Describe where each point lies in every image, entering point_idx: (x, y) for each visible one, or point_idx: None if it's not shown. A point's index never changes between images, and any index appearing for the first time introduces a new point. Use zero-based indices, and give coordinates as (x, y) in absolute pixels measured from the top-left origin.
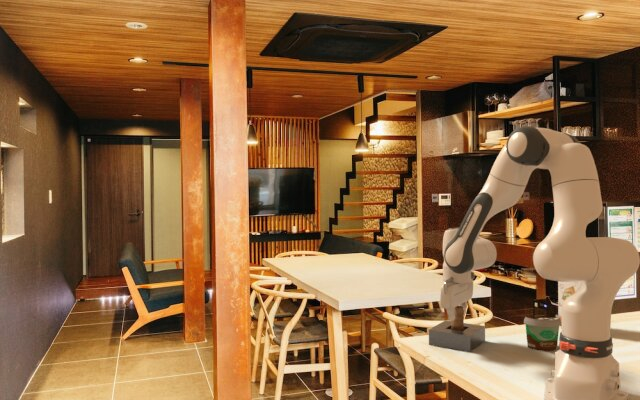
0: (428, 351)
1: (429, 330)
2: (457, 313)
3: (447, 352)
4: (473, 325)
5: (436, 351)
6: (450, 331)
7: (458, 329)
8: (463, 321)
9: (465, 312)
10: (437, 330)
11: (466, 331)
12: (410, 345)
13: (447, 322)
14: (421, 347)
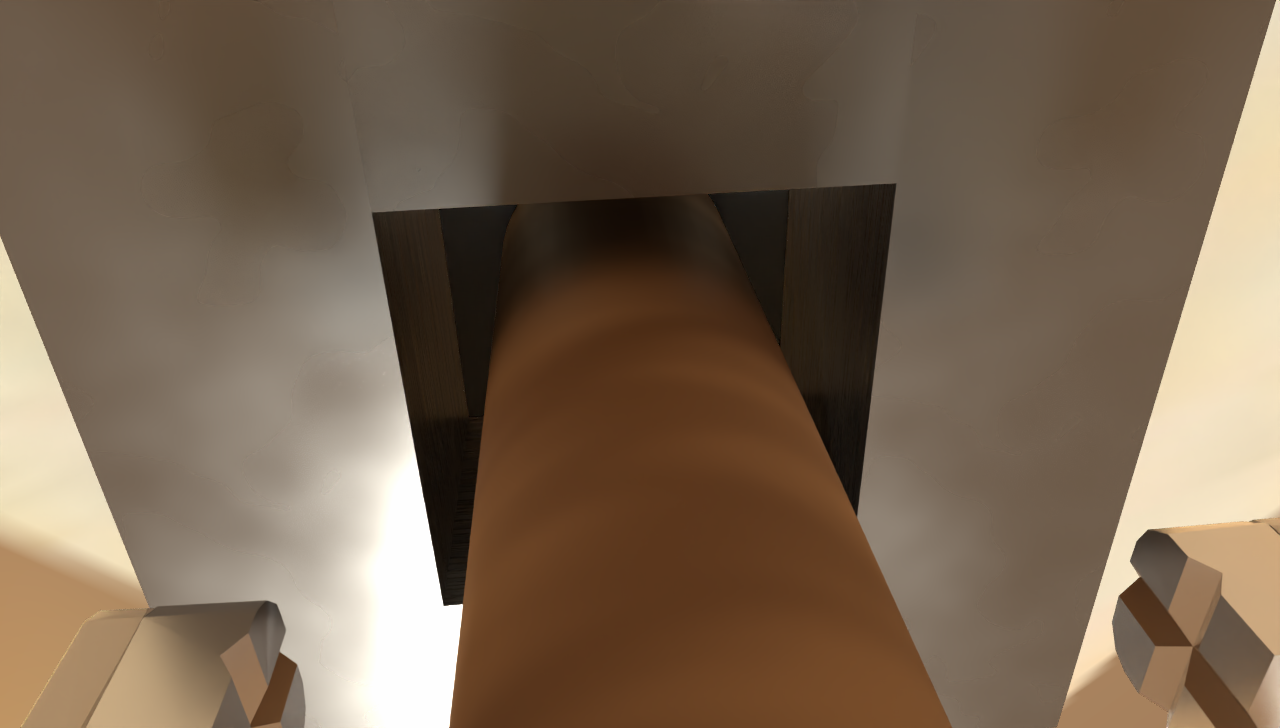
0: (1265, 409)
1: (1054, 705)
2: (928, 688)
3: (1236, 166)
4: (106, 182)
5: (1232, 324)
6: (1033, 403)
7: (770, 336)
8: (591, 384)
9: (73, 644)
10: (1056, 611)
11: (863, 87)
12: (1075, 669)
13: (355, 723)
14: (1110, 549)
